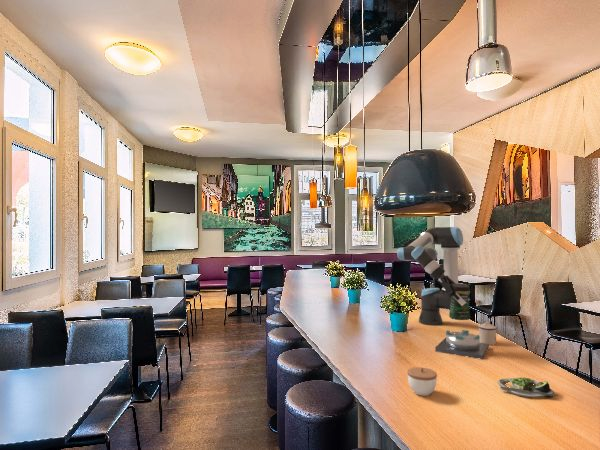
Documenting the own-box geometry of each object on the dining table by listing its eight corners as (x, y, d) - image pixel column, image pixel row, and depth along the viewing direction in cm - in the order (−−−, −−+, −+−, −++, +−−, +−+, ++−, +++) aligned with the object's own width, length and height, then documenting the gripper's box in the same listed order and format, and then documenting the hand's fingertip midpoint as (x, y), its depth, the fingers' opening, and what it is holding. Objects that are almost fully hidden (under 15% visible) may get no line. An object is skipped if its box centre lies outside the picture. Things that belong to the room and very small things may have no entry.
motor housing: (445, 340, 211) (445, 326, 211) (489, 347, 199) (488, 332, 199) (435, 351, 193) (435, 334, 193) (482, 359, 181) (482, 342, 181)
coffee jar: (454, 320, 192) (454, 284, 193) (447, 317, 200) (447, 282, 200) (472, 320, 193) (472, 284, 193) (464, 317, 201) (464, 282, 201)
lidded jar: (408, 384, 150) (408, 361, 150) (437, 389, 146) (437, 365, 147) (406, 395, 140) (406, 370, 141) (436, 400, 136) (436, 374, 137)
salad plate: (514, 402, 136) (514, 389, 136) (485, 382, 154) (485, 371, 154) (564, 400, 138) (564, 387, 138) (530, 381, 155) (530, 369, 156)
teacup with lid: (500, 345, 204) (499, 323, 204) (483, 345, 203) (483, 323, 204) (488, 338, 216) (488, 318, 216) (472, 339, 215) (472, 318, 216)
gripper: (435, 272, 215) (465, 303, 205) (423, 276, 197) (455, 310, 187) (445, 264, 212) (475, 295, 202) (434, 267, 194) (467, 301, 184)
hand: (466, 302), depth 195 cm, fingers closed on coffee jar, 9 cm apart
